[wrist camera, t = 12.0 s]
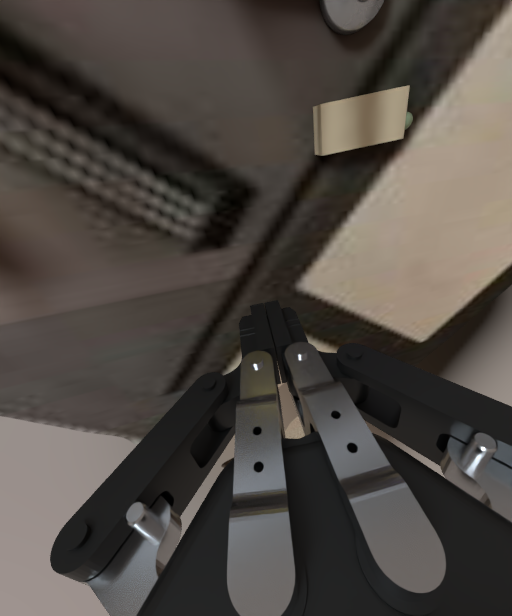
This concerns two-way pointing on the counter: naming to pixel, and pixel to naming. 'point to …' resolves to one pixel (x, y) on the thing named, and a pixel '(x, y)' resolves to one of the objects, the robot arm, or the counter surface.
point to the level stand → (361, 121)
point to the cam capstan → (349, 14)
